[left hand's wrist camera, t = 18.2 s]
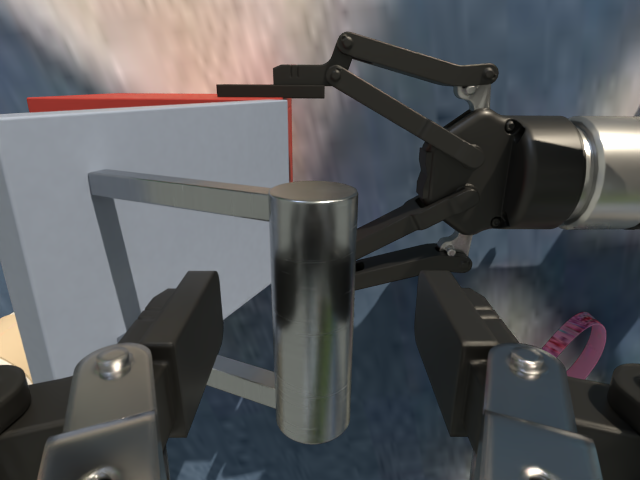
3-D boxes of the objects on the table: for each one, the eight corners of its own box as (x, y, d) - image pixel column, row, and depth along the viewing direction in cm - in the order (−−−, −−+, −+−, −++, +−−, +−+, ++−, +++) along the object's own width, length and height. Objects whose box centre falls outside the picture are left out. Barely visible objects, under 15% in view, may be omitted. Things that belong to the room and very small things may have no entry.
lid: (42, 426, 14) (306, 552, 10) (-40, 116, 11) (303, 136, 7) (273, 265, 26) (429, 296, 23) (267, 99, 23) (449, 103, 19)
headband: (537, 406, 44) (548, 422, 42) (505, 391, 43) (514, 406, 41) (609, 323, 41) (624, 336, 38) (575, 305, 40) (589, 317, 38)
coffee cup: (74, 383, 43) (-47, 530, 29) (-8, 327, 41) (-181, 456, 27) (128, 326, 41) (26, 455, 27) (45, 264, 39) (-114, 369, 24)
